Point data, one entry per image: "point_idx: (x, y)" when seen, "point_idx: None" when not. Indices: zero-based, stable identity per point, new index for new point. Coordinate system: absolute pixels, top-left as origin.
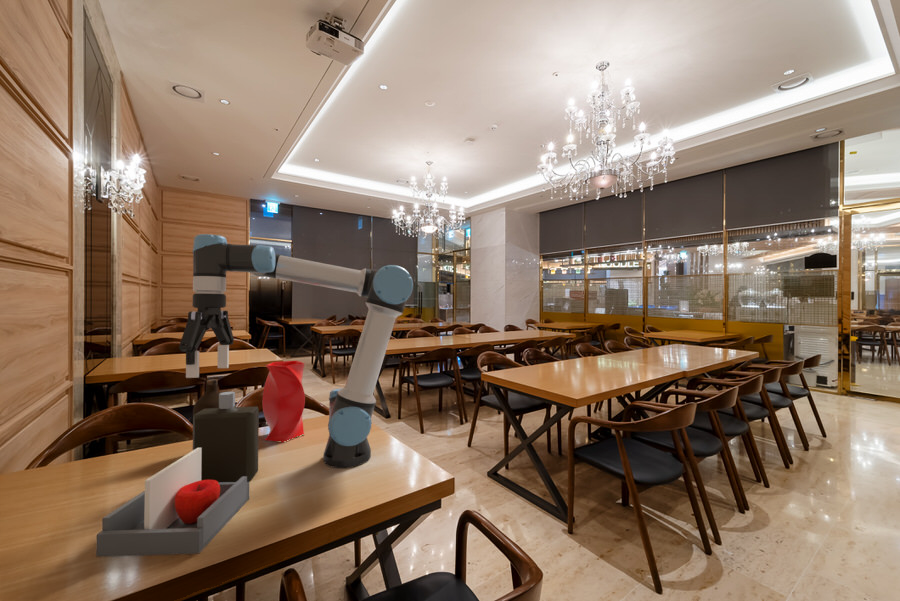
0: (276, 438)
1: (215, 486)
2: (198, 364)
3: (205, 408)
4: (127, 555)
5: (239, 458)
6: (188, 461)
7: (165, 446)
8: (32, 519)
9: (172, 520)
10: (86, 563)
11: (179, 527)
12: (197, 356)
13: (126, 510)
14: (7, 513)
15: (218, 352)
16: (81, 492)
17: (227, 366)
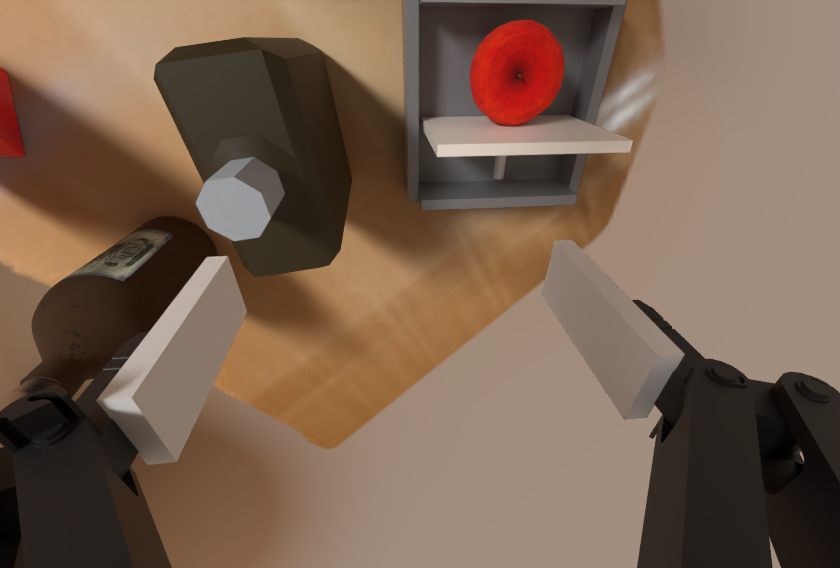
0: (1, 107)
1: (522, 28)
2: (601, 284)
3: (152, 322)
4: None
5: (318, 76)
6: (492, 139)
7: None
8: (447, 336)
9: None
10: None
11: None
12: (652, 323)
13: (537, 193)
14: (429, 372)
15: (203, 394)
16: (375, 342)
17: (220, 262)
